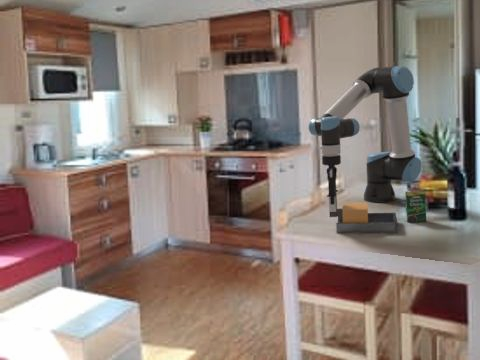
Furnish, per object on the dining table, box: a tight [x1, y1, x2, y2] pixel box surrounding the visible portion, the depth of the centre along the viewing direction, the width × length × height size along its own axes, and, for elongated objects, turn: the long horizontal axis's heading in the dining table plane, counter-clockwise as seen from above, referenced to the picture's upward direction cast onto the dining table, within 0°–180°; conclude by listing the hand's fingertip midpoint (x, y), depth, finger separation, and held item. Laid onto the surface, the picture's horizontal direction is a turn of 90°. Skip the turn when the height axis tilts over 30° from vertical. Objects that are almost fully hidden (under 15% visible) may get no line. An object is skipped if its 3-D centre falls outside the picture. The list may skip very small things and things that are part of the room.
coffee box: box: [405, 189, 427, 223], centre depth 236 cm, size 8×3×13 cm, turn 80°
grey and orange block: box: [329, 186, 369, 223], centre depth 233 cm, size 16×12×16 cm
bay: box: [335, 212, 399, 234], centre depth 233 cm, size 24×16×4 cm, turn 78°
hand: (333, 209), depth 235 cm, fingers open, 6 cm apart
